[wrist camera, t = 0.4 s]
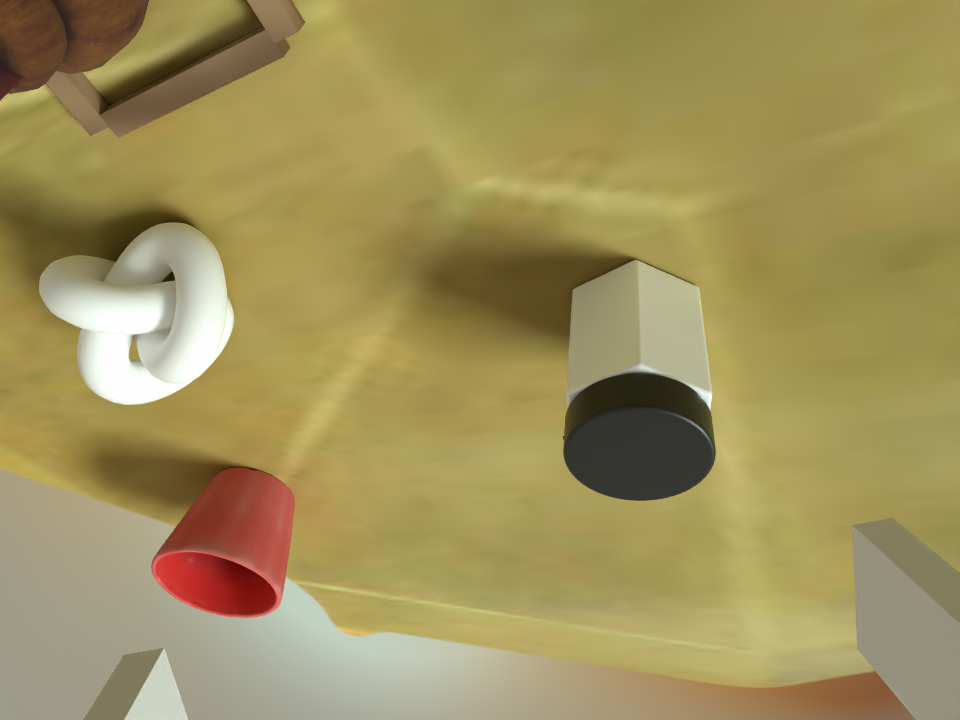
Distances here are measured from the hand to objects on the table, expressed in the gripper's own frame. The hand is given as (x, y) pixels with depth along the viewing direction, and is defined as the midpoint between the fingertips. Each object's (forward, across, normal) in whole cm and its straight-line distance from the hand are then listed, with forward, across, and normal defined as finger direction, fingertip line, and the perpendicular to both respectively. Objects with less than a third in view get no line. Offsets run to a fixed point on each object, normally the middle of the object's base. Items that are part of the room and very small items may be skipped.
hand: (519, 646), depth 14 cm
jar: (+36, +11, -3) cm, 37 cm away
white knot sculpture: (+40, -18, +4) cm, 45 cm away
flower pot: (+53, -22, -18) cm, 60 cm away
